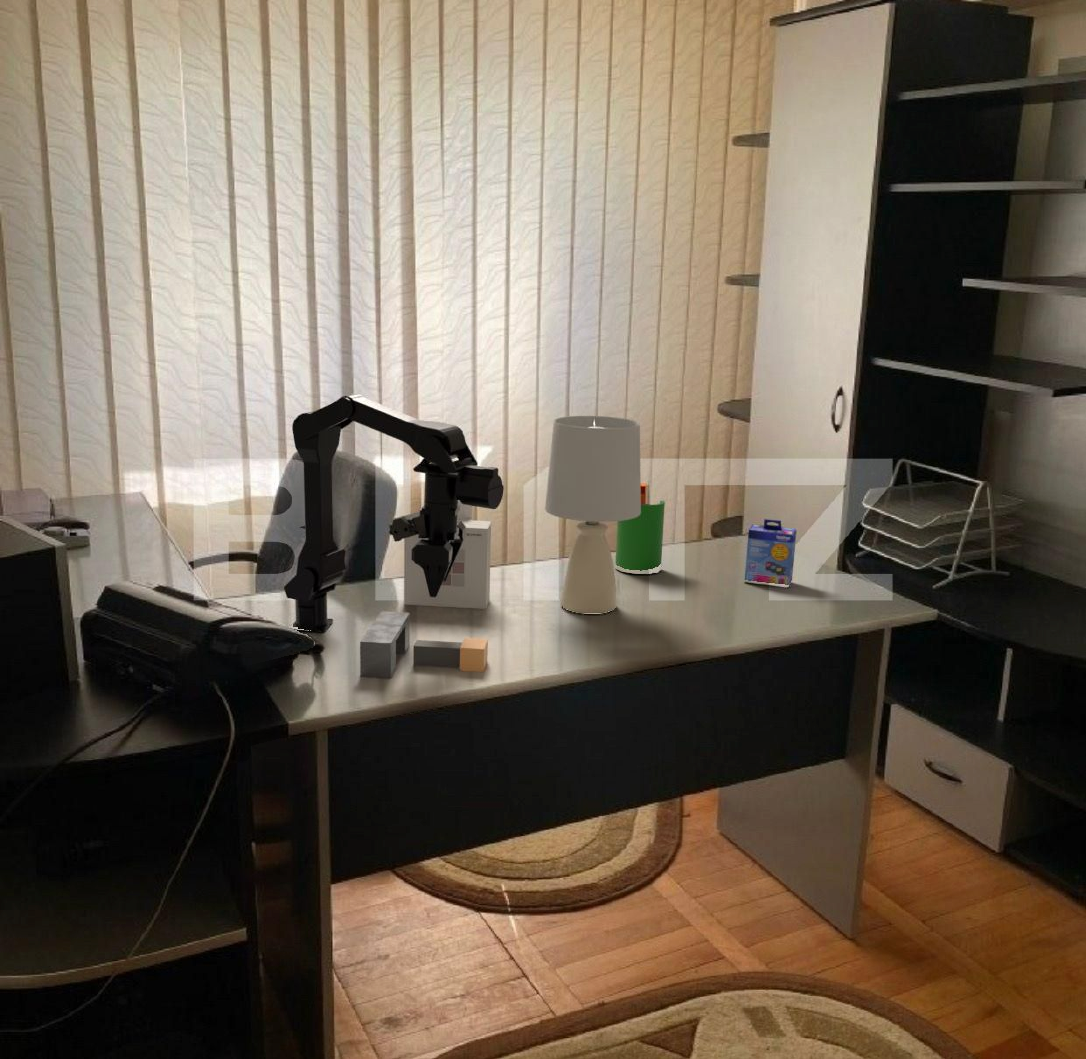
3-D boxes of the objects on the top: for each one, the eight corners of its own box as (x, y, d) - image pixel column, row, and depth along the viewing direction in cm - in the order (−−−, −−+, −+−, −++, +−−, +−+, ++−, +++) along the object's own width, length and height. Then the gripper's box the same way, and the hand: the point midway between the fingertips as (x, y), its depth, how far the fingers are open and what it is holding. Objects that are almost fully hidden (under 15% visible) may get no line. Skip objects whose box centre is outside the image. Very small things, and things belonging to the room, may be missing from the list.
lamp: (542, 620, 214) (548, 427, 205) (541, 591, 232) (547, 413, 223) (640, 623, 214) (650, 430, 206) (631, 594, 233) (640, 416, 224)
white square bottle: (403, 605, 221) (403, 505, 216) (420, 578, 239) (421, 486, 234) (485, 609, 220) (488, 509, 215) (496, 582, 238) (498, 490, 233)
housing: (381, 643, 199) (381, 611, 197) (409, 645, 198) (409, 612, 197) (360, 676, 183) (360, 641, 182) (390, 678, 183) (390, 643, 181)
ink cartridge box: (743, 583, 243) (748, 518, 240) (746, 577, 248) (751, 513, 245) (789, 589, 240) (795, 523, 237) (792, 582, 245) (798, 517, 242)
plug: (417, 657, 193) (417, 635, 192) (487, 661, 192) (487, 639, 191) (412, 667, 188) (412, 645, 187) (483, 671, 187) (484, 649, 186)
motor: (658, 565, 255) (663, 478, 251) (663, 576, 247) (669, 486, 242) (613, 564, 255) (618, 477, 250) (617, 575, 246) (622, 485, 241)
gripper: (405, 485, 199) (402, 570, 203) (381, 509, 181) (379, 601, 185) (467, 490, 198) (464, 575, 202) (450, 514, 180) (446, 607, 184)
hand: (437, 588), depth 193 cm, fingers open, 9 cm apart
